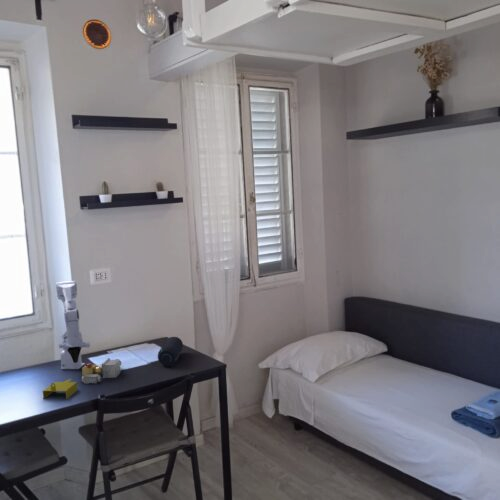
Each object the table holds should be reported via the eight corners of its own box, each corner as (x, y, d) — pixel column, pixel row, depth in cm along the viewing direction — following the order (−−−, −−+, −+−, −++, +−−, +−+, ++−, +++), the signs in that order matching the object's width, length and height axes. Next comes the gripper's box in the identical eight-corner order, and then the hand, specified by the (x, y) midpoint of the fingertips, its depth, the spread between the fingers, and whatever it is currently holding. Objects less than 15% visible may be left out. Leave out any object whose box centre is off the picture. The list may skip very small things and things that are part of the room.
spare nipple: (81, 384, 243) (80, 377, 243) (84, 381, 246) (83, 374, 246) (99, 383, 242) (98, 376, 242) (101, 380, 246) (101, 373, 245)
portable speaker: (166, 353, 284) (164, 335, 282) (184, 352, 283) (183, 334, 282) (156, 369, 259) (155, 349, 258) (177, 368, 258) (175, 348, 257)
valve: (82, 377, 252) (81, 365, 251) (87, 373, 256) (86, 362, 256) (101, 376, 251) (100, 365, 250) (105, 373, 256) (104, 362, 255)
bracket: (85, 371, 238) (70, 383, 224) (87, 387, 239) (71, 400, 224) (53, 371, 240) (35, 383, 226) (54, 387, 241) (37, 400, 227)
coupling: (102, 378, 249) (101, 364, 248) (113, 368, 262) (112, 355, 262) (115, 378, 248) (113, 364, 247) (124, 368, 262) (123, 354, 261)
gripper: (54, 337, 249) (57, 365, 250) (84, 336, 247) (87, 364, 249) (61, 333, 256) (64, 360, 257) (90, 332, 254) (92, 359, 256)
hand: (75, 362), depth 254 cm, fingers closed
